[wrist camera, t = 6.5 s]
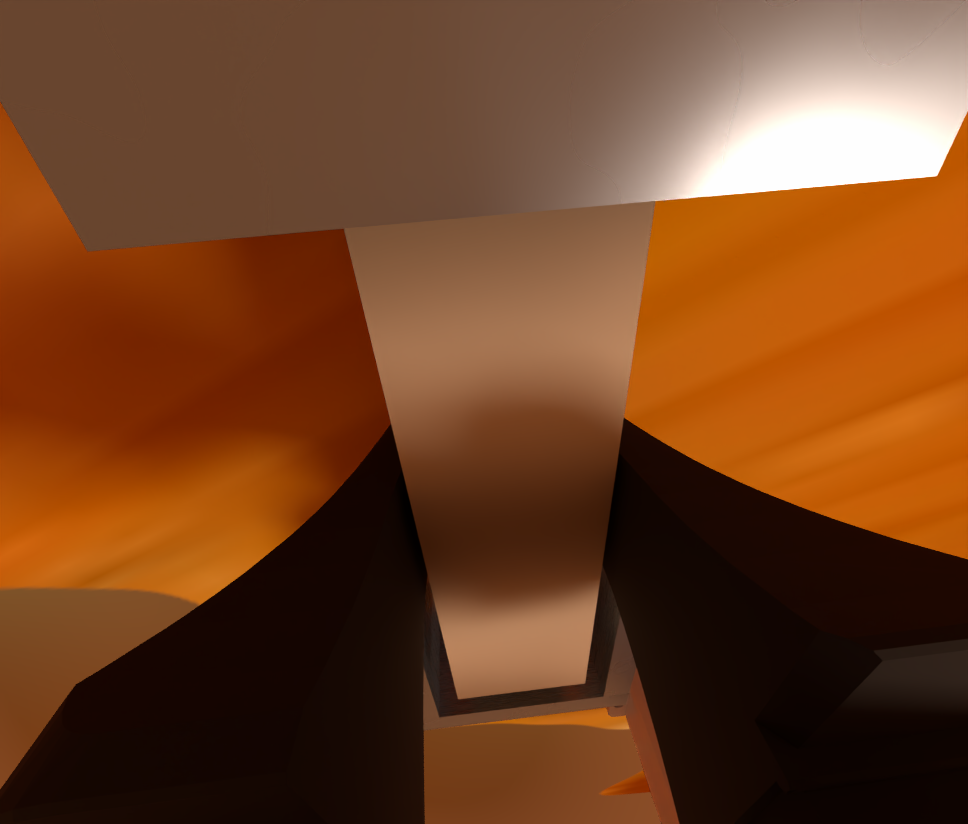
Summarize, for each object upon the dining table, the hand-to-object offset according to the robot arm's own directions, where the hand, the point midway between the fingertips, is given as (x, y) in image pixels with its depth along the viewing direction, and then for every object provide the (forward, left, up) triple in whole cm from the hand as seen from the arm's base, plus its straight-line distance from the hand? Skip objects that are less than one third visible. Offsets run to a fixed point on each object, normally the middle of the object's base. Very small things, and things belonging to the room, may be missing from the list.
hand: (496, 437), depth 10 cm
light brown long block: (0, 0, -2) cm, 2 cm away
